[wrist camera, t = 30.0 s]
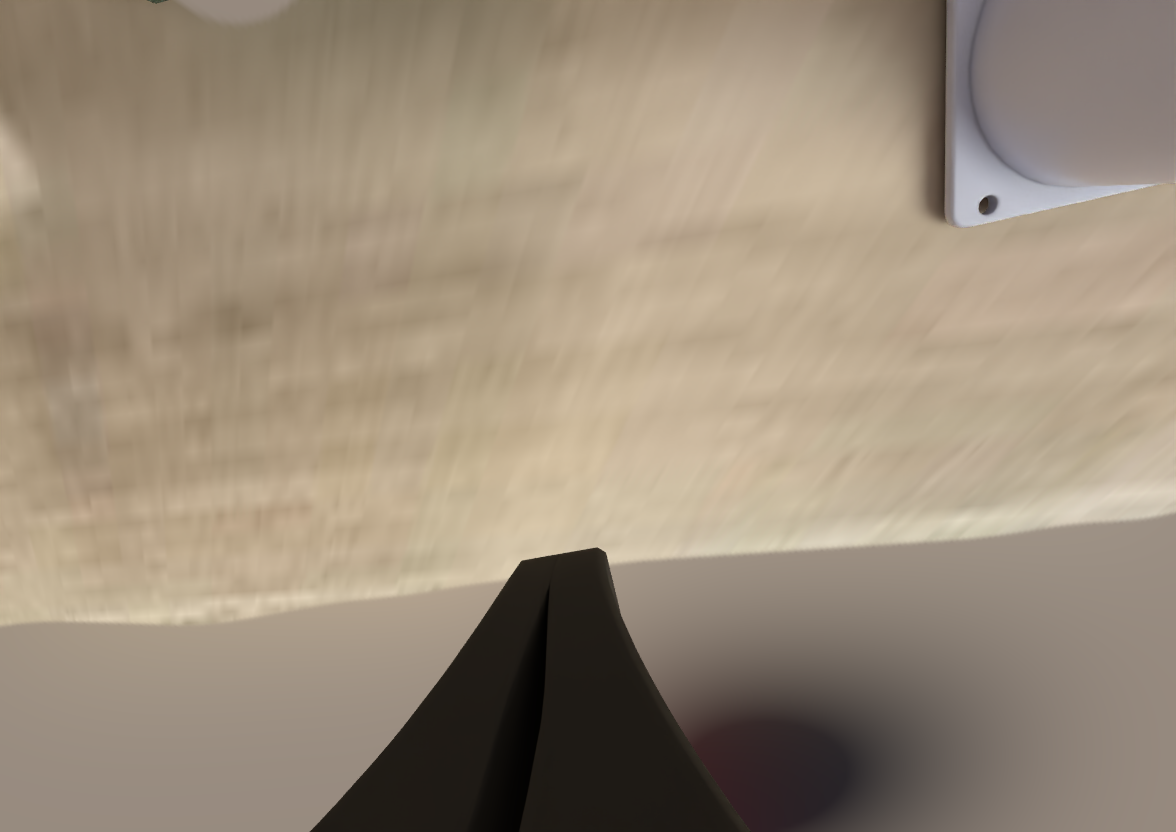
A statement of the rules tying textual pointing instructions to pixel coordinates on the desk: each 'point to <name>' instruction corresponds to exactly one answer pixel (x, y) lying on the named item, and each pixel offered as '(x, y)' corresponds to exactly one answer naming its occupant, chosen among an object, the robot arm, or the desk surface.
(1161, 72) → the robot arm
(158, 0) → the drawer
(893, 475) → the desk surface
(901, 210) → the desk surface
